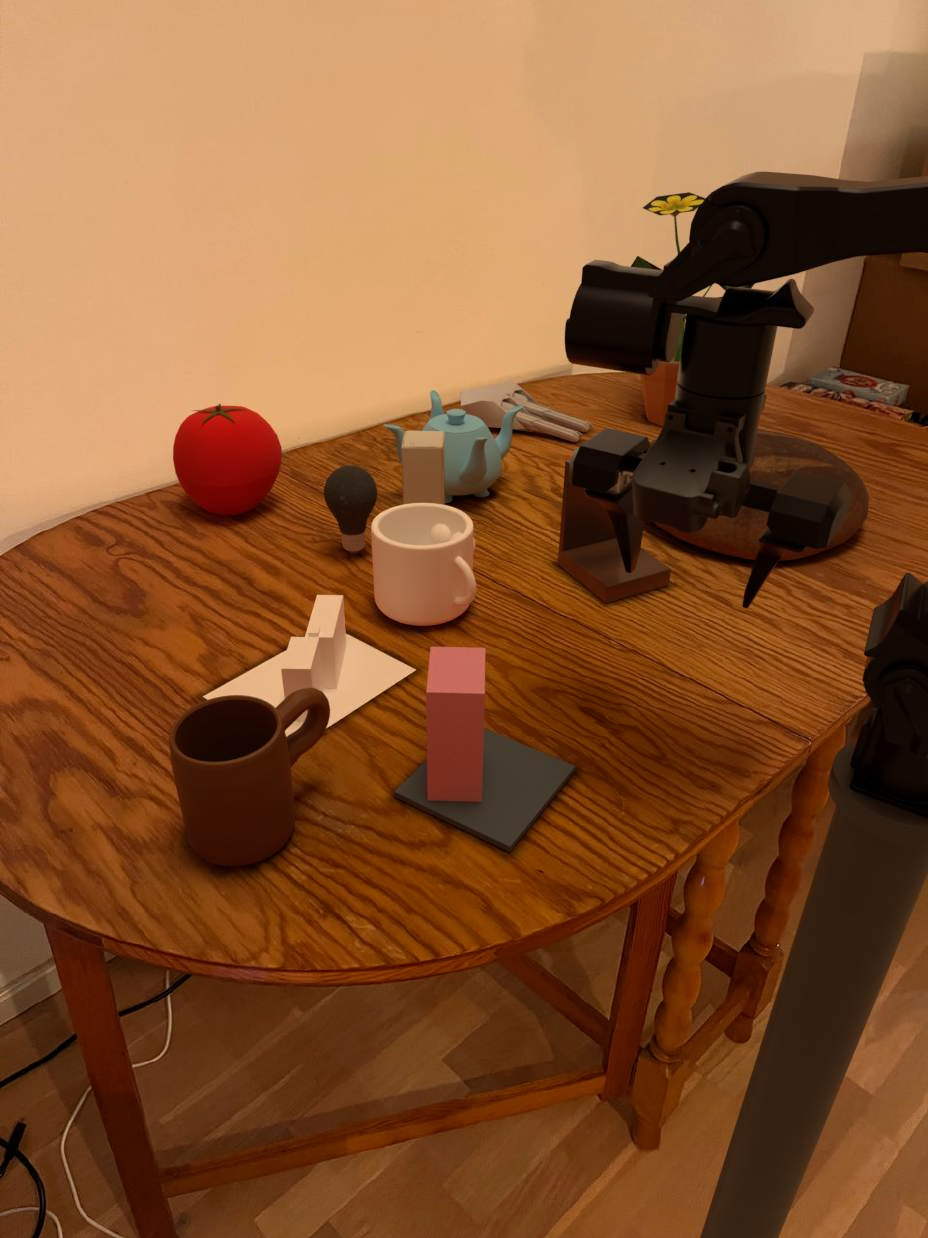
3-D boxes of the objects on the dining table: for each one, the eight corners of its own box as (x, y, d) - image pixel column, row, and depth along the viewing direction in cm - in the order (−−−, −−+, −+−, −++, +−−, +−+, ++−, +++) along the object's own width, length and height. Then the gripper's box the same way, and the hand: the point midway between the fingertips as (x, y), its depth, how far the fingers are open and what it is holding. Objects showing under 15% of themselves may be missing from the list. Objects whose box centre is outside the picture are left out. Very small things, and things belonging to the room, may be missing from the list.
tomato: (178, 532, 104) (160, 426, 97) (184, 490, 113) (168, 390, 107) (288, 524, 106) (278, 419, 99) (285, 483, 115) (275, 385, 109)
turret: (569, 462, 127) (577, 431, 125) (442, 418, 133) (447, 387, 130) (592, 439, 135) (600, 409, 132) (472, 398, 140) (477, 368, 138)
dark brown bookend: (669, 585, 95) (685, 478, 88) (605, 603, 92) (617, 494, 85) (617, 548, 102) (629, 447, 95) (557, 564, 98) (565, 460, 92)
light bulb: (324, 543, 102) (317, 459, 96) (373, 537, 103) (369, 454, 98) (333, 567, 97) (327, 480, 92) (385, 560, 99) (381, 474, 93)
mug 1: (303, 752, 72) (293, 654, 67) (366, 800, 68) (359, 699, 63) (167, 830, 65) (144, 727, 60) (227, 890, 60) (207, 784, 55)
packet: (482, 752, 71) (485, 647, 66) (482, 802, 67) (485, 693, 61) (431, 751, 72) (430, 646, 66) (427, 801, 67) (425, 692, 62)
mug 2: (513, 613, 90) (517, 531, 85) (436, 654, 84) (436, 568, 79) (431, 569, 97) (430, 491, 92) (354, 604, 91) (349, 522, 86)
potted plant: (591, 402, 142) (610, 191, 126) (705, 396, 145) (737, 189, 129) (629, 445, 128) (656, 212, 111) (754, 437, 131) (798, 209, 114)
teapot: (522, 479, 117) (526, 403, 112) (481, 521, 107) (483, 439, 102) (431, 462, 122) (431, 387, 116) (384, 500, 111) (381, 420, 106)
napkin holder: (329, 624, 88) (325, 573, 85) (417, 669, 82) (416, 615, 79) (201, 697, 78) (191, 641, 75) (290, 753, 72) (283, 696, 69)
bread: (900, 570, 98) (923, 495, 94) (647, 568, 98) (658, 493, 93) (813, 465, 122) (827, 401, 118) (610, 463, 122) (616, 399, 117)
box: (443, 560, 99) (443, 448, 92) (403, 559, 99) (400, 447, 92) (445, 537, 103) (445, 429, 96) (406, 537, 103) (404, 428, 96)
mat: (575, 771, 71) (575, 765, 70) (509, 853, 64) (510, 847, 63) (466, 726, 75) (466, 720, 75) (394, 797, 68) (393, 791, 68)
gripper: (538, 391, 59) (526, 598, 67) (834, 454, 51) (778, 682, 59) (611, 350, 67) (593, 539, 75) (878, 399, 58) (823, 606, 67)
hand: (686, 587), depth 69 cm, fingers open, 9 cm apart
